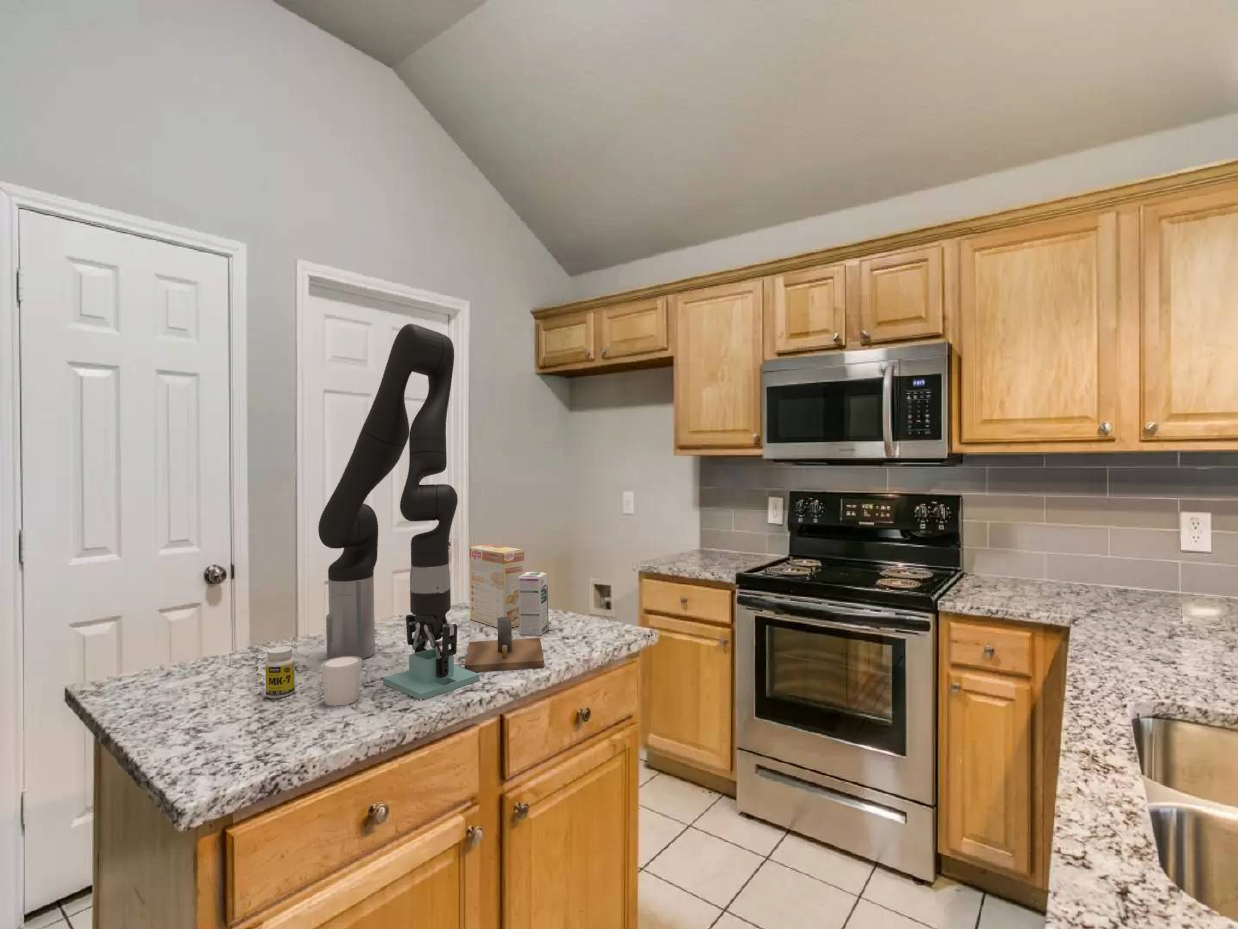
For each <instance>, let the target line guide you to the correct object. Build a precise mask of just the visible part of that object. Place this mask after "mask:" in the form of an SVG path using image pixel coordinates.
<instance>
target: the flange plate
mask: <svg viewBox="0 0 1238 929" xmlns="http://www.w3.org/2000/svg"><path fill="white" fill-rule="evenodd" d="M426 649H427V648H426ZM440 650H441V652H442V648H440ZM454 656H455V655H451V656H449V672H448V675H447V676H445V677H442V678H438V677H437V676H436V658H437V656H436V653H435V650H434V648H432V647H431V648H428V649H427V650H424V651H420V652H417V653H415V652H414V653H411V654H408V669H407V670H403V671H401V672H397V673H393V674H390V675H388V676H385V677H382V684H383V685H384V686H387V687H389V688H392V689H394V688H395V689H394V690H396V689H397V690H396V691H398V690H399V692H401V693H404V694H405V693H407V694H409V695H408V696H410V697H412V696H413V697H412V698H414V697H415V699H416V698H417V700H419V699H421V700H422V699H425V700H427V699H430V698H433V697H436V696H438V694H439V695H442V694H445V693H448V692H450V691H453V690H456V689H459V688H462V687H464V686H467V684H468V685H470V684H472V683H473V684H474V683H476V682H479V681H480V678H481V677H480V675H481V674H480V673H479V672H472V671H469V670H466V669H465V667H461V666H457V665H455V663H454V659H455V658H454ZM441 693H442V694H441ZM407 694H406V695H407ZM435 695H436V696H435ZM432 696H433V697H432ZM421 700H420V701H421ZM422 701H423V700H422Z"/></svg>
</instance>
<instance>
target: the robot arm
mask: <svg viewBox="0 0 1238 929" xmlns="http://www.w3.org/2000/svg"><path fill="white" fill-rule="evenodd" d="M454 364H455V347H454V343H453V341H452V339H451V338H450V337H448V336H447V335H446V334H444V333H441V332H438V331H435V330H432V329H429V328H427V327H423V326H421V325H418V324H414V323H408V324H405V325H404V326H402V328H401V329H400V330H399V331H398V333H397V334H396V337H395V338H394V341H393V343H392V346H391V350H390V352H389V355H388V359H387V362H386V364H385V369H384V371H383V376H382V378H381V381H380V384H379V387H378V390H377V393H376V394H375V397H374V400H373V402H372V405H371V408H370V410H369V412H368V415H367V417H366V419H365V421H364V423H363V425H362V427H361V430H360V432H359V435H358V436H357V440H356V443H355V445H354V448H353V451H352V453H351V455H350V457H349V460H348V462H347V464H346V466H345V469H344V471H343V472H342V476H341V477H340V480H339V482H338V484H337V486H336V488H335V489H334V490H333V493H332V495H331V496H330V498H329V500H328V501H327V503H326V505H325V507H324V509H323V511H322V513H321V515H320V518H319V521H318V527H317V528H318V536H319V539H320V542H321V543H322V545H324V546H325V547H326V548H329V549H343V551H342V553H341V555H340V556H339V557H338V558H337V559H336V560H335V561H334V562H332V563H331V564H330V565H329V567H328V570H327V581H328V583H327V584H328V586H327V588H328V614H327V615H326V617H325V624H326V625H325V627H326V628H325V629H326V630H325V631H326V632H325V634H326V636H325V638H326V660H329V659H332V658H337V657H343V656H355V657H359V658H361V659H362V660H363V659H367V658H369V657H372V656H373V655H375V652H376V650H375V649H376V638H375V637H376V635H375V634H376V633H375V632H376V631H375V630H376V629H375V628H376V627H375V625H376V624H375V623H376V622H375V582H374V581H375V580H374V579H375V578H374V577H375V576H374V572H375V567H376V564H377V561H378V550H379V549H378V547H379V523H378V517H377V515H376V512H375V510H374V509H373V508H372V506H370V505H369V504H367V503H364V502H365V500H366V498H367V497H368V495H370V493H371V492H372V491H373V490H374V489H375V488H376V487H377V486H378V485H379V484H380V482H382V481H383V480H384V479H385V478H386V477H387V476H388V475H389V474H390V472H392V470H393V469H394V468H395V466H396V465H397V464H398V462H399V460H400V458H401V456H402V454H403V451H404V450H405V447H406V445H407V442H408V441H409V442H408V447H409V448H408V449H409V452H408V453H409V457H408V458H409V461H408V463H409V464H408V471H407V475H406V476H407V477H406V481H405V484H404V486H403V491H402V493H401V497H400V501H399V508H400V512H401V515H402V517H403V518H404V519H405V520H407V521H409V522H431V521H433V522H435V521H437V522H438V524H437V526H436V527H435V528H433V529H432V530H429V531H426V532H420V533H418V534H417V533H416V534H415V535H413V536H412V537H411V539H410V573H409V597H410V599H409V603H410V604H409V607H410V609H409V610H410V613H411V614H407V615H406V616H405V623H406V640H407V645H408V646H412V647H411V648H412V650H413V651H414V653H417V652H420V651H424V650H427V648H426V647H427V645H428V643H429V644H430V647H431V648H434V650H435V653H436V656H437V658H436V676H437V677H438V678H442V677H445V676H447V675H448V672H449V656H451V655H454V656H456V655H457V651H458V650H457V649H458V646H457V644H458V642H457V641H458V625H457V623H453V624H452V623H451V624H450V623H448V621H447V616H446V615H447V613H448V612H449V611H450V610H451V609H452V608H451V607H452V606H451V605H452V604H451V603H452V602H451V601H452V600H451V599H452V598H451V595H452V594H451V572H450V565H449V564H450V563H449V562H450V556H449V552H450V551H449V547H450V546H449V545H450V544H449V543H450V534H451V528H452V524H453V521H454V517H455V514H456V511H457V507H458V503H459V502H458V500H459V499H458V494H457V493H458V492H457V491H456V490H455V488H454V487H453V486H452V485H450V484H447V483H442V484H441V483H439V484H438V483H437V484H420V482H421V481H422V480H423V479H425V478H426V477H429V476H430V477H431V476H432V475H437V474H441V473H443V472H444V471H445V470H446V469H447V465H448V464H447V462H448V461H447V458H448V457H447V456H448V455H447V417H448V408H449V403H450V395H451V387H452V380H453V374H454V366H455V365H454ZM412 373H416V374H421V375H423V376H427V379H428V380H427V382H428V391H427V392H428V393H427V396H426V398H425V400H424V402H423V404H422V406H421V407H420V409H419V411H418V412H417V414H416V415H415V417H414V419H413V420H412V422H411V426H410V423H409V418H408V417H409V416H408V413H407V408H406V403H405V402H406V401H405V395H406V394H405V393H406V388H407V384H408V381H409V379H410V376H411V375H412ZM449 645H450V646H449ZM440 649H442V652H441V650H440Z"/></svg>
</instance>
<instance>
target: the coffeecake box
mask: <svg viewBox="0 0 1238 929" xmlns="http://www.w3.org/2000/svg"><path fill="white" fill-rule="evenodd" d="M523 574H525V549H522V548H515V547H509V546H503V545H497V544H492V543H491V544H490V543H488V544H481V545H479V544H478V545H475V546H474V545H473V546H469V592H470V593H469V597H470V598H469V599H470V600H469V601H470V602H469V604H470V605H469V606H470V608H469V609H470V611H469V612H470V618H469V619H470V620H471V619H472V620H471V621H476V622H478V623H480V624H485V625H488V626H490V627H493V626H494V628H496V629H498V625H497V619H498V618H500V617H511V618H512V627H513V628H517V627H516V626H518V627H519V591H518V577H519V576H521V575H523Z"/></svg>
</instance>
